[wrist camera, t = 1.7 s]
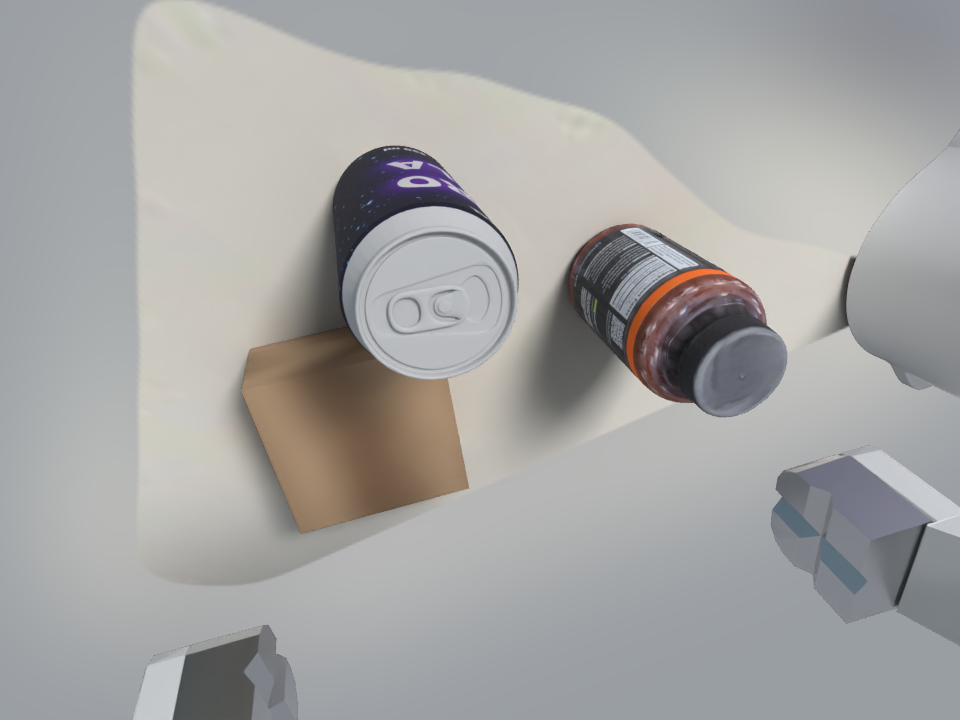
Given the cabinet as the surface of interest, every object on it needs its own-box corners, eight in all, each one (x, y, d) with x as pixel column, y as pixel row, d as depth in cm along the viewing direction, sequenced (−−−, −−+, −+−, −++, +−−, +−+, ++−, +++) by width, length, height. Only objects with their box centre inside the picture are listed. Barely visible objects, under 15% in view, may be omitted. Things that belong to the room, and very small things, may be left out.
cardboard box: (426, 308, 31) (440, 343, 27) (454, 443, 35) (469, 488, 32) (250, 349, 29) (241, 390, 26) (302, 483, 34) (300, 533, 31)
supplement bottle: (682, 283, 33) (828, 385, 24) (593, 342, 34) (701, 466, 24) (642, 196, 30) (792, 274, 21) (545, 263, 31) (648, 369, 21)
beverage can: (459, 254, 30) (533, 372, 19) (345, 272, 29) (360, 406, 18) (447, 134, 27) (527, 200, 17) (320, 150, 26) (321, 229, 16)
